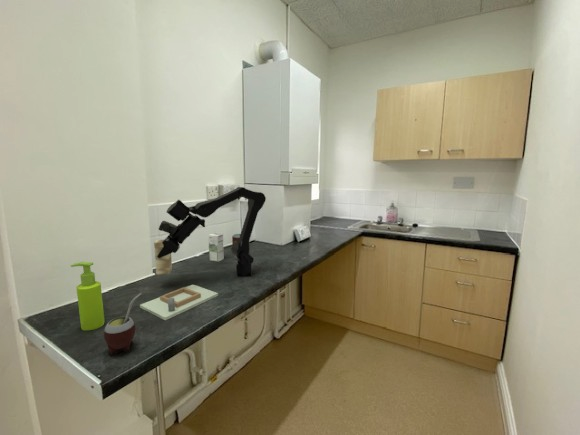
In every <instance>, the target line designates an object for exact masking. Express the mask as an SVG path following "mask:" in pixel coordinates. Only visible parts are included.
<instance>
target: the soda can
mask: <svg viewBox="0 0 580 435" xmlns="http://www.w3.org/2000/svg"><path fill="white" fill-rule="evenodd" d="M240 234H241V233H235V234H233V235H232V236H231V237H232V238H231V239H232V241H231V242H232V243H231V244H232V246H233V242H234V241H235V242H237V241H238V239H239V238H240ZM232 246H231V247H232Z"/></svg>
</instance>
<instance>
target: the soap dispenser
mask: <svg viewBox="0 0 580 435" xmlns="http://www.w3.org/2000/svg"><path fill="white" fill-rule="evenodd" d="M92 265H94V262H92V261H90V262H89V261H87V262H86V261H80V262H76V263H73V264H71V265H70V267H71V268H74V267H82V269H83V272H82V273H81V274H80V282H81V284H79V285H76V294H77V303H78V304H77V305H78V313H79V320H80V321H79V322H80V329H81V330H82V331H87V332H88V331H92V330H93V331H94V330H96V329H99V328H101V327H102V326H104V324H105V314H104V304H103V294H102V293H103V292H102V285H101V282H100V281H96V276H95V274H96V273H95V272H94V271H92V270H91V266H92Z"/></svg>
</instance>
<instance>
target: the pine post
mask: <svg viewBox="0 0 580 435" xmlns="http://www.w3.org/2000/svg"><path fill="white" fill-rule="evenodd" d="M164 240H165V239H156V240H155V241H154V243H153V246H154V259H155V274H156V275H166V274H167V275H169V274H171V272H172V270H173V266H172V264H173V263H172V253H170V254H168V255H166V256H163V257H161V258H158V257H157V256H158V254H159V253H160V251H161V250H162V248H163V247H164V245H163V244H162V242H163V241H164Z"/></svg>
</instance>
